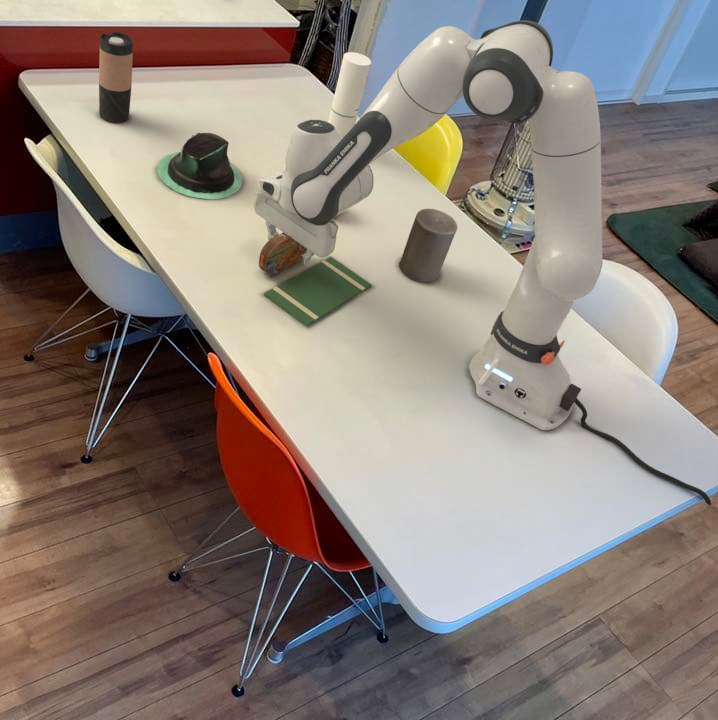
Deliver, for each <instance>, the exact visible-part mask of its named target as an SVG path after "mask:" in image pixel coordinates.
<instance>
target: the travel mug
mask: <svg viewBox="0 0 718 720" xmlns="http://www.w3.org/2000/svg"><path fill="white" fill-rule="evenodd" d="M133 53H134V40H133V38H132V37H131V36H129V35H128V34H125V33H123V32H119V31H112V32H111V33H105V32H102V33H101V34H100V37H99V63H98V64H99V67H98V111H99V117H100V118H101V119H102V120H103V121H105V122H108V123H112V124H123V123H126V122H127V121H128V120H129V118H130V112H131V111H130V109H131V97H132V85H133V83H132V81H133V58H134V56H133Z"/></svg>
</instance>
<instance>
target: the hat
mask: <svg viewBox="0 0 718 720" xmlns="http://www.w3.org/2000/svg"><path fill="white" fill-rule="evenodd" d="M229 144H230V143H229V141H228V140H227V139H225V138H224V137H222V136H220V135H218V134H215V133H212V132H196V133H195V135H194V134H192V135H191V137H190V138H188V139H186V140H185V141H184V142H183V144H182V148H181V150H180V151H178V152H175V153H170V154H167V155H165V156H164V157H162V158H161V159H160V160H159V162H158V164H157V168H156V172H157V176H158V177H159V179H160V180H161V182H162V183H163V184H164V185H165V186H167V187H169V188H170V189H171V190H173V191H175V192H176V193H179V194H182V195H184V196H186V197H192V198H196V199H206V200H216V199H217V200H218V199H224V198H228V197H231V196H232V195H235V193H237V192H238V191H239V190H240V189H241V187H242V186H243V185H242V184H243V179H242V175H241V174H240V173H241V172H240V171H238V169H237V168H236V167H235V166H234V165H232V164H231V163H230V160H229V156H228V148H229Z"/></svg>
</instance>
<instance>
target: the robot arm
mask: <svg viewBox="0 0 718 720" xmlns="http://www.w3.org/2000/svg"><path fill="white" fill-rule="evenodd" d="M553 59H554V44H553V41H552V38H551V36H550V34H549V32H548V31H547V29H546V28H545V27H544V26H543V25H541V24H539V23H538V22H537V21H533V20H527V19H522V20H516V21H515V20H514V21H512V22H507V23H505V24H502V25H500V26H497V27H494V28H490V29H487V30H485V31H483V32H482V34H481V36H480V38H479V39H475V38H473V37H471V35H469V34H468V33H467V32H466V31H465V30H462V29H461V28H458V27H456V26H452V25H445V26H441V27H438V28H436V29H435V30H434V31H433V32H431V33H430V34H429V35H428V36H426V37H425V38H424V39H423V40H422V41H421V42H419V44H418V45H416V46H415V47H414V48H413V49H412V50H411V51H410V53H409V54H408V55H407V56H406V57H405V58H404V60H403V61H402V62H401V63H400V64H399V66H398V67H397V68H396V69H395V70H394V72H393V73H392V74H391V75H390V77H389V78H388V80H387V81H386V83H385V84H384V85H383V87H382V88H381V89H380V91H379V92H378V93H377V95H376V97H375V98H374V100H372V102H371V104H369V106H368V107H367V108H366V110H365V111H364V112H363V113H362V115H361V116H360V117H359V119H358V120H357V121H356V123H355V125H354V126H353V128H352V129H351V130H350V131H349V132H348V133H347V134H346V135H345V136H344V138H343V139H342V140H341V139H340V137H339V135H338V133H337V130H336V128H335V127H334V126H333V125H332V124H330V123H328V121H326V120H322V119H308V120H305V121H301V122H300V123H298V124H297V125H295V127H294V129H293V131H292V134H291V136H290V139H289V143H288V147H287V150H286V155H285V161H284V162H285V170H284V171H277V172H274V173H271V174H269V175H266V176H265V177H262V178H260V180H259V182H258V183H259V184H258V185H259V186H258V187H259V188H258V189H257V190H256V193H255V196H254V201H253V210H254V212H255V214H256V215H257V216H259V217H260V218H262V219H263V220H265V226H266V230H267V233H268V234H267V239H268V241H269V240H270V239H271V238H273V237H275V236H277V235H279V234H280V232H278V231H277V229H278V230H280V231H281V233H283V232H284V233H285V234H287V235H288V236H289V237H291V238H292V239H294V240H295V241H297V242H298V243H300V244H301V245H302V246H304V247H305V248H307V252H308V253H307V252H306V253H305V254H303V255H301V259H300V261H301V262H300V263H302V264H303V265H309V264H310V263H311V261H312V257H313V256H315V255H316V256H317V257H318V258H320V259H323V258H325V257H328V256H330V255H331V254H333V253H334V251H335V250H336V249H335V248H336V242H337V235H338V230H339V224H338V223H337V221H336V220H335V219H336V217H337V216H339V215H341V214H343V213H344V212H346V211H347V210H349V209H351V208H352V207H353V206H356V205H357V204H359V203H360V202H362V201H363V200H365V199H367V198H368V197H369V196H370V195H371V194H372V192H373V188H374V173H373V170H372V168H371V166H370V164H371V163H373V162H374V161H375V160H377V159H378V158H379V157H381V156H382V155H384V154H386V153H387V152H389V151H391V150H393V149H395V148H397V147H399V146H401V145H403V144H405V143H407V142H409V141H411V140H413V139H415V138H417V137H419V136H420V135H422V134H423V133H425V132H426V131H428V130H429V129H430V128H431V127H433V126H434V125H436V124H437V123H438V122H439V121H440V120H441V119H442V118H443V117H444V116H446V114H447V113H448V112H449V111H450V110H451V108H452V107H453V106H454V105H455V104H456V103H457V102H458V100H459V99H461V98H462V97H463V99H464V101H465V104H466V106H467V107H468V108H469V109H470V111H472V112H473V113H474V114H475V115H476V116H478V117H480V118H483V119H485V120H489V121H494V122H495V121H496V122H508V123H513V124H516V125H518V124H524V123H525V122H527V123H528V127H529V137H530V138H529V139H530V140H529V141H530V153H531V154H530V155H531V165H532V166H531V168H532V181H533V211H534V212H533V214H534V215H533V217H534V238H533V240H532V243H531V245H530V248H529V251H528V253H527V255H526V258H525V261H524V263H523V266H522V269H521V271H520V274H519V277H518V279H517V282H516V284H515V285H514V289H513V290H512V293H511V295H510V297H509V299H508V301H507V303H506V305H505V307H504V308H503V310H502V311H500V313H499V314H498V315H497V317H496V319H495V321H494V324H493V325H492V329H491V331H490V333H489V335H490V336H489V337H488V339H487V340H486V342H485V343H484V345H483V346H482V347H481V348H480V349H479V351H478V352H477V353H476V354H475V355H474V356H473V357H472V358H471V359H470V361H469V365H468V366H469V367H468V369H469V373H470V377H471V378H472V381H473V382H474V384H475V392H476V395H477V396H478V397H479V398H480V399H482V400H484V401H486V402H488V403H490V404H492V405H493V406H495V407H497V408H498V409H501V410H503V411H505V412H506V413H508V414H510V415H512V416H514V417H516V418H517V419H520V420H521V421H523V422H525V423H527V424H529V425H531V426H533V427H535V428H536V429H539V430H541V431H550V430H554V429H556V428H558V427H559V426H561V425H562V424H563V423H564V422H565V421H566V420H567V419H568V418H569V416H570V414H571V413H572V411H573V408H574V405H576V406H577V407H578V409H580V411H581V413H582V414H581V417H580V424H581V426H582V427H583V428H584V429H585V430H587V431H588V432H590V433H592V434H595V435H596V436H598V437H601V438H603V439H606V440H608V441H611V442H612V443H614V444H615V445H617V446H618V447H619V448H620V449H621V450H622V451H623V452H625V453H626V454H627V456H629V457H630V458H631V459H632V460H633V461H634V462H635V463H637V464H638V465H639V466H640V467H642V468H643V469H645V470H647V471H648V472H649V473H651V474H654V475H655V476H657V477H660V478H662V479H664V480H667V481H669V482H671V483H673V484H674V485H677V486H679V487H681V488H683V489H686V490H688V491H691V492H693V493H695V494H698V495H699V496H700V497H702V498H703V500H704V501H705V504H706V505H708V506H711V505H712V500H711V498H710V497H709V495H708V494H707V493H706V492H705V491H704V490H702V489H700V488H699V487H696V486H694V485H691V484H689V483H686V482H684V481H682V480H679V479H678V478H676V477H673V476H671V475H670V474H667V473H664V472H662V471H660V470H658V469H656V468H654V467H653V466H650V465H649V464H647V463H646V462H644V461H643V460H642V459H640V457H638V456H637V455H636V454H635V453H634V452H633V451H632V450H631V449H630V448H629V447H628V446H627V445H626V444H624V443H623V442H622V441H621V440H619V439H618V438H616V437H614V436H612V435H610V434H608V433H605V432H602V431H600V430H597V429H595V428H592V427H591V426H590V425H588V424H587V422H586V420H587V418H588V411H587V409H586V407H585V406H584V404H583V403H582V402H581V401H580V400H579V398H578V396H579V394H580V392H581V391H582V388H581V387H579V386H577V385H576V384H574V383H572V377H571V374H570V373H569V372H568V370H567V368H566V367H565V365H564V363H563V362H562V360H561V358H560V356H559V353H560V351H561V349H562V348H563V346H564V344H565V340H562V341H561V342H560V343H559V340H558V335H557V334H558V333H559V331H560V329H561V327H562V326H563V324H564V323H565V320H566V318H567V317H568V315H569V314H570V312H571V310H572V307H573V305H574V301H577V300H580V299H583V298H584V297H586V296H588V295H589V294H591V292H592V291H593V290H594V288H595V287H596V284H597V282H598V280H599V277H600V275H601V271H602V268H603V233H604V231H603V228H604V227H603V226H604V225H603V212H602V211H603V208H602V206H603V205H602V197H603V195H602V193H603V192H602V191H603V190H602V189H603V188H602V137H601V121H600V111H599V105H598V100H597V95H596V92H595V87H594V84H593V82H592V81H591V79H590V78H589V77H588V76H587V75H585V74H583V73H581V72H578V71H574V70H562V71H561V70H558V69H554V68H553V67H551V66H552V64H553Z"/></svg>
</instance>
